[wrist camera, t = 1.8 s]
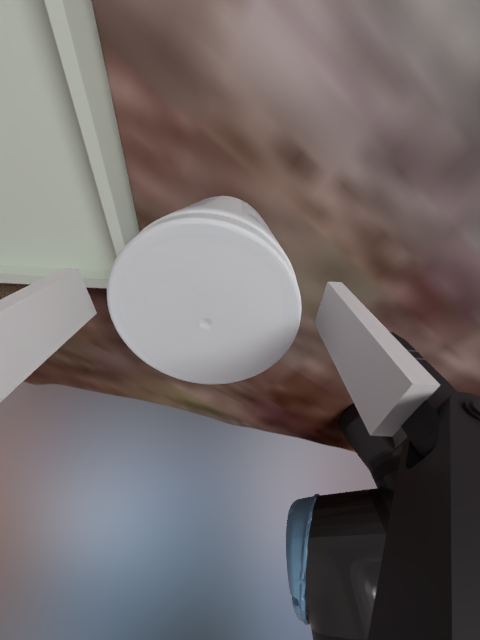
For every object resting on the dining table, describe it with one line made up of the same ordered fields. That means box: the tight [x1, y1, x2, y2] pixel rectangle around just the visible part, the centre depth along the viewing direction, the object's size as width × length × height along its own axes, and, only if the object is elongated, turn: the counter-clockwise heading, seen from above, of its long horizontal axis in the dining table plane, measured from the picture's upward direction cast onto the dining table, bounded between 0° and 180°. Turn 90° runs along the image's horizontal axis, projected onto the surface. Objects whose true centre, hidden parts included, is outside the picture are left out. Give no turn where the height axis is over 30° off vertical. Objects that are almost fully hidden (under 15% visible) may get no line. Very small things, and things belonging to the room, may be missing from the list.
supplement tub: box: [107, 196, 302, 384], centre depth 16 cm, size 10×10×15 cm
